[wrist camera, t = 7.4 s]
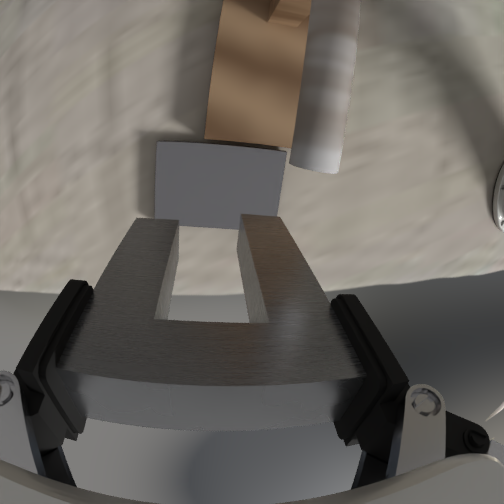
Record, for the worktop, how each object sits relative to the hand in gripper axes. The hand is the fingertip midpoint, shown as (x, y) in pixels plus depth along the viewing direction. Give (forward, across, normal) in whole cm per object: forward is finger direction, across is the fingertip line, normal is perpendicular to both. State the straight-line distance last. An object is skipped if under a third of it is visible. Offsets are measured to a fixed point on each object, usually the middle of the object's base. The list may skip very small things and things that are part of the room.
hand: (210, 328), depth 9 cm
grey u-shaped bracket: (+8, 0, 0) cm, 8 cm away
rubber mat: (+18, 0, 0) cm, 18 cm away
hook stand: (+18, -4, -11) cm, 22 cm away
